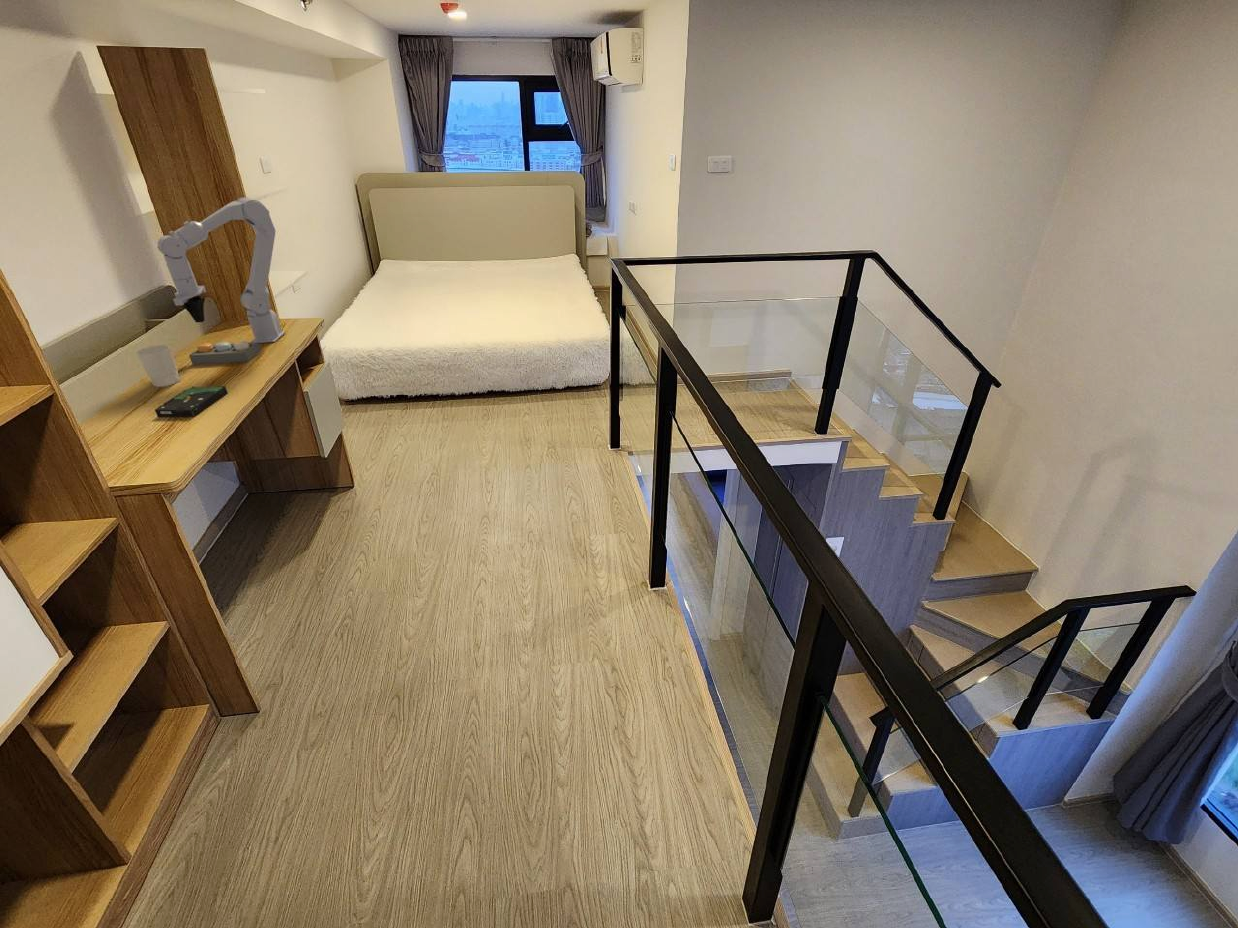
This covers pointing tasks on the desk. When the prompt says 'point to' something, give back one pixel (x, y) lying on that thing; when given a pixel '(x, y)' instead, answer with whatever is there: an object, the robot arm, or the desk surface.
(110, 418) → the desk surface
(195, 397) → the disk drive
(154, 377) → the white cup
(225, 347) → the grey rounded dome
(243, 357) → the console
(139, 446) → the desk surface
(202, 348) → the button orange
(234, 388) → the desk surface
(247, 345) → the button ivory
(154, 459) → the desk surface
